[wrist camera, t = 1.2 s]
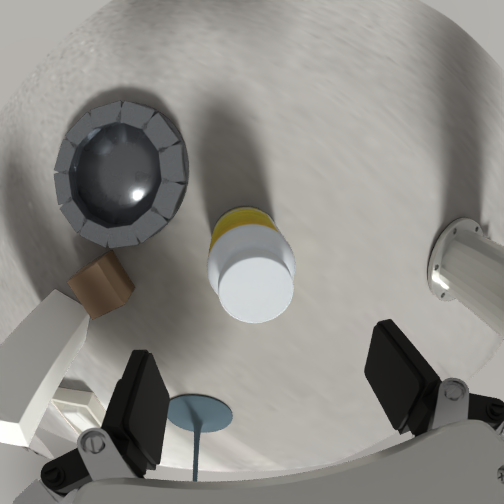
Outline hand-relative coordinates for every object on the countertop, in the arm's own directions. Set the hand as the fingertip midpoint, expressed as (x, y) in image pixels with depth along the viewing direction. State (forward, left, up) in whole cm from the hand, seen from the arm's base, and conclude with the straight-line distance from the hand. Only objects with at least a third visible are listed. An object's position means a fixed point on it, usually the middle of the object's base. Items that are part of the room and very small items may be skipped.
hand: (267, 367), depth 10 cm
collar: (+12, -8, -18) cm, 23 cm away
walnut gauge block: (+16, +3, -18) cm, 24 cm away
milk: (+24, +8, -18) cm, 31 cm away
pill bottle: (0, 0, -18) cm, 18 cm away
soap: (+32, +30, -18) cm, 47 cm away
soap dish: (+32, +30, -18) cm, 47 cm away
